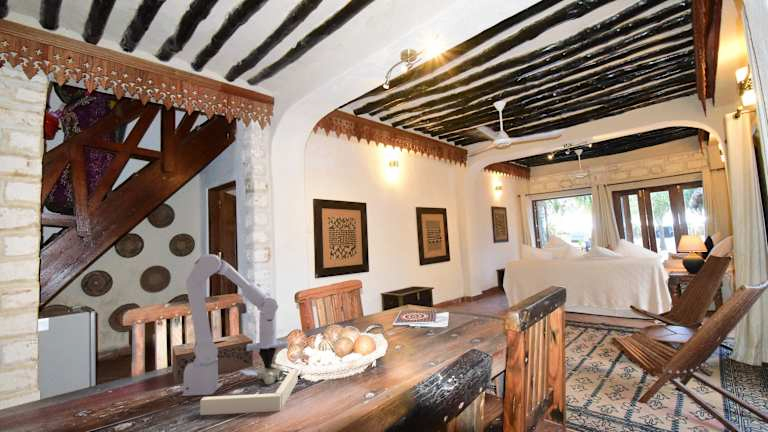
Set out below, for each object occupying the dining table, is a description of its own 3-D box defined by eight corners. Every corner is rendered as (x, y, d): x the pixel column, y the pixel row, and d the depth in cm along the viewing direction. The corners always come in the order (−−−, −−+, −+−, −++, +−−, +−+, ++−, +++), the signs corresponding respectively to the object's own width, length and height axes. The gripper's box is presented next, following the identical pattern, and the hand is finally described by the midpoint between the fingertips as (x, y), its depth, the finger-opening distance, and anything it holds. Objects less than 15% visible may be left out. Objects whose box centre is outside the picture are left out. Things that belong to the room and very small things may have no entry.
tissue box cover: (243, 357, 144) (243, 333, 145) (252, 366, 133) (252, 340, 134) (172, 373, 130) (172, 346, 130) (175, 384, 118) (175, 355, 119)
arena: (200, 415, 95) (200, 400, 95) (232, 384, 116) (232, 372, 116) (280, 410, 95) (280, 396, 96) (297, 380, 116) (297, 368, 116)
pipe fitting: (273, 387, 113) (283, 378, 120) (272, 375, 113) (283, 366, 120) (251, 386, 115) (263, 376, 122) (251, 374, 115) (262, 365, 122)
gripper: (243, 335, 119) (243, 375, 118) (285, 332, 120) (286, 372, 119) (250, 330, 126) (250, 367, 125) (289, 327, 127) (290, 365, 126)
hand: (268, 369), depth 123 cm, fingers closed
